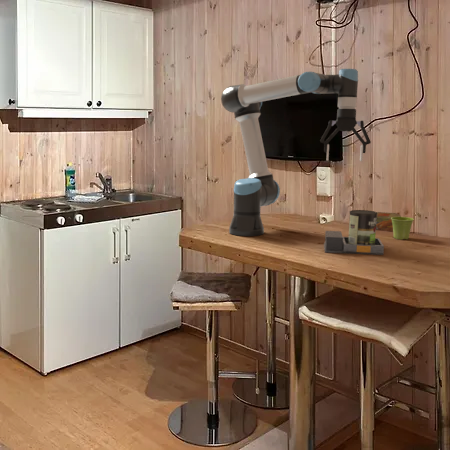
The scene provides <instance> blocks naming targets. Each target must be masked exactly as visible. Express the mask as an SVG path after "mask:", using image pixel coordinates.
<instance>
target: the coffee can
mask: <svg viewBox="0 0 450 450" xmlns="http://www.w3.org/2000/svg"><path fill="white" fill-rule="evenodd" d="M377 212H378V211H377ZM377 212H376V211H373V210H367V209H366V210H365V209H353V210H349V221H348V222H349V223H348V237H349V239H348V244H362V245H375V238H376V232H377V230H376V220H377Z"/></svg>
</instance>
